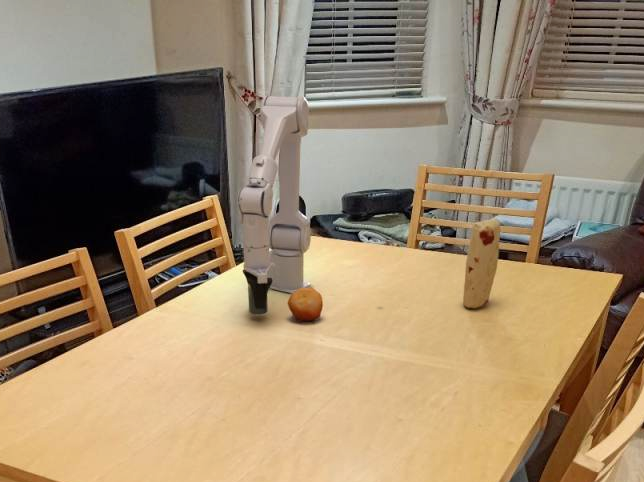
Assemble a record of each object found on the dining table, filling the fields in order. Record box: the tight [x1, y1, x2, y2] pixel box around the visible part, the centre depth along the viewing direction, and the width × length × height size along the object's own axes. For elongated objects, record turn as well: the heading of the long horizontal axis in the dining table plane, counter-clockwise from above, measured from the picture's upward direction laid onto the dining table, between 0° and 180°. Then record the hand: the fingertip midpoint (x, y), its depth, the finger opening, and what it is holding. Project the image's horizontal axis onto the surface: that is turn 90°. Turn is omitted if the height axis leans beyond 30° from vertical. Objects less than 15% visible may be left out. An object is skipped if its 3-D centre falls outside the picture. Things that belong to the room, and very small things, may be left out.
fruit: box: [287, 286, 324, 322], centre depth 176 cm, size 8×8×8 cm
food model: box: [462, 218, 501, 309], centre depth 178 cm, size 10×7×20 cm
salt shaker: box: [247, 285, 269, 315], centre depth 175 cm, size 4×4×6 cm
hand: (258, 304), depth 176 cm, fingers closed on salt shaker, 4 cm apart
